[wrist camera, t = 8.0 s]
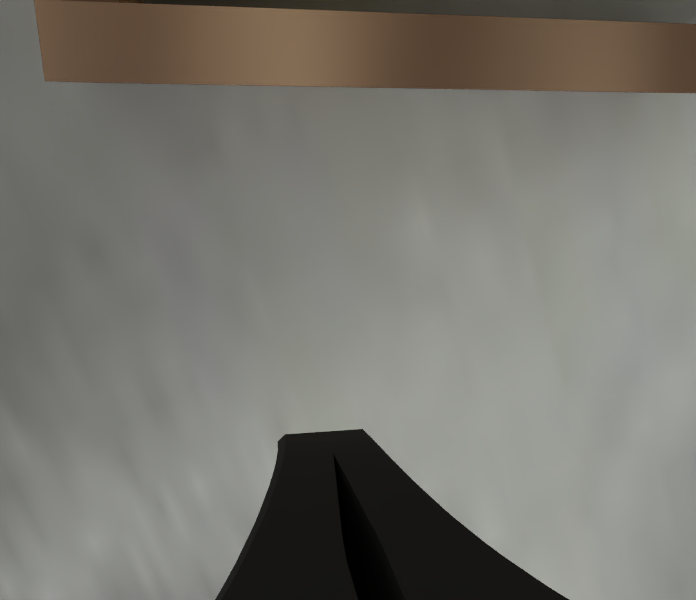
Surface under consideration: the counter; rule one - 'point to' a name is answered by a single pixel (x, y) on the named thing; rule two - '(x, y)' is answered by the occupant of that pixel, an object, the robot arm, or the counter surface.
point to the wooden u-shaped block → (357, 49)
